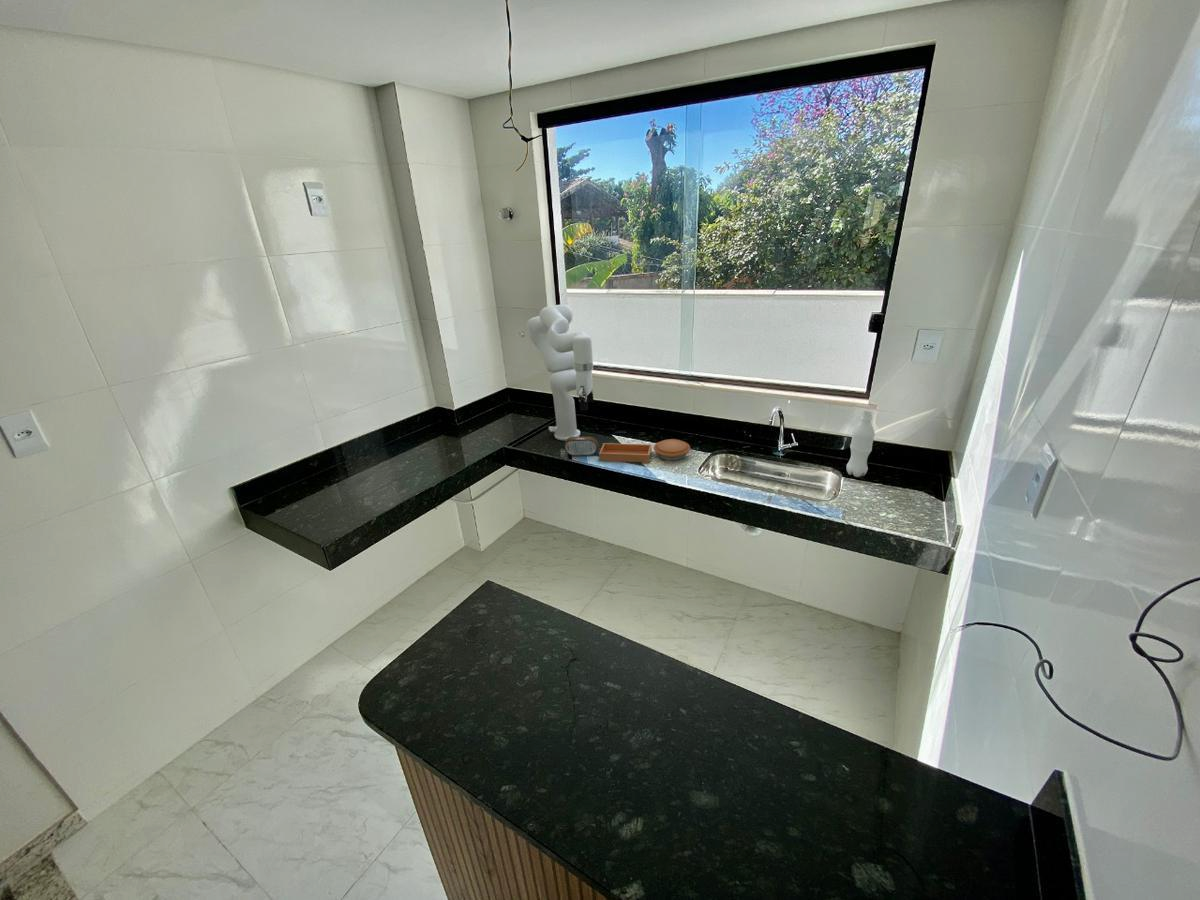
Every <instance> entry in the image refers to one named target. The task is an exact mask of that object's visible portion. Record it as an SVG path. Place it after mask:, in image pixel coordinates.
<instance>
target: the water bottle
mask: <svg viewBox="0 0 1200 900" xmlns="http://www.w3.org/2000/svg"><path fill="white" fill-rule="evenodd" d="M872 415H873V412H872V411H869V410H864V411H862V414H861V417H860V421H859V422H858V423H857V425H856V426H855V427H854V428H853V430H852V435H851V441H850V444H849V448H850V458H849V460H848V462H847V464H846V467H845V468H846V472H847V474H848V475H849V476H852V475H853V477H855V478H860V477H864V476H865V475H866V474H867V473H868V470H869V467H868V458H869V455H870V454H871V452H872V451H873V443H874V438H875V437H876V436H875V434H876V433H875V429H874V427H873V424H872V420H873V417H872Z"/></svg>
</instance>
